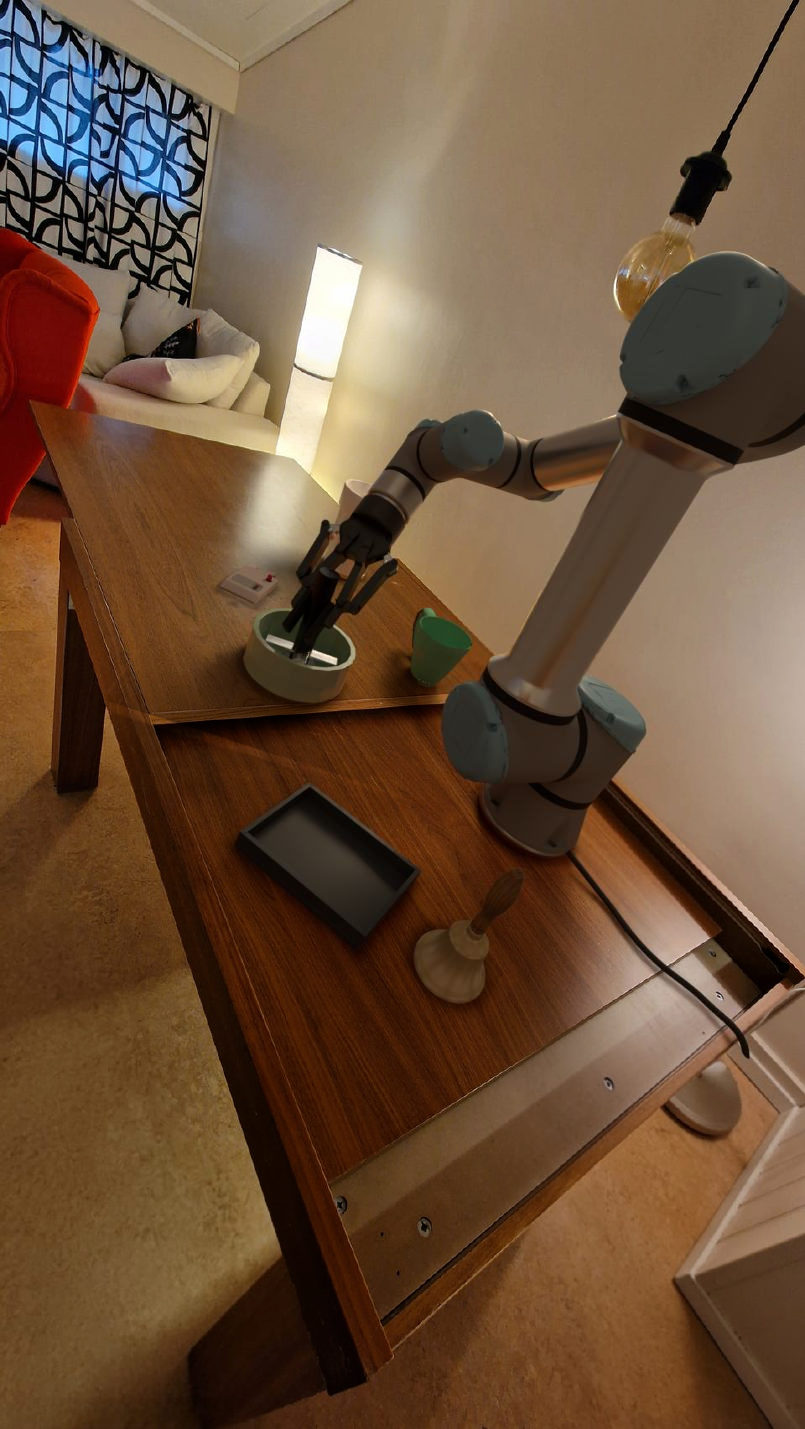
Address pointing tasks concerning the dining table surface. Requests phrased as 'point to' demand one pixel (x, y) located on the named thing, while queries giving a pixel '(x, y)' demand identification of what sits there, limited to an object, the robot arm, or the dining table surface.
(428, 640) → the mug
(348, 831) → the tray
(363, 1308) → the dining table surface
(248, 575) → the remote control
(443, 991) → the hand bell
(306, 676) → the green bowl
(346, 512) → the cup
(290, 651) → the blade
